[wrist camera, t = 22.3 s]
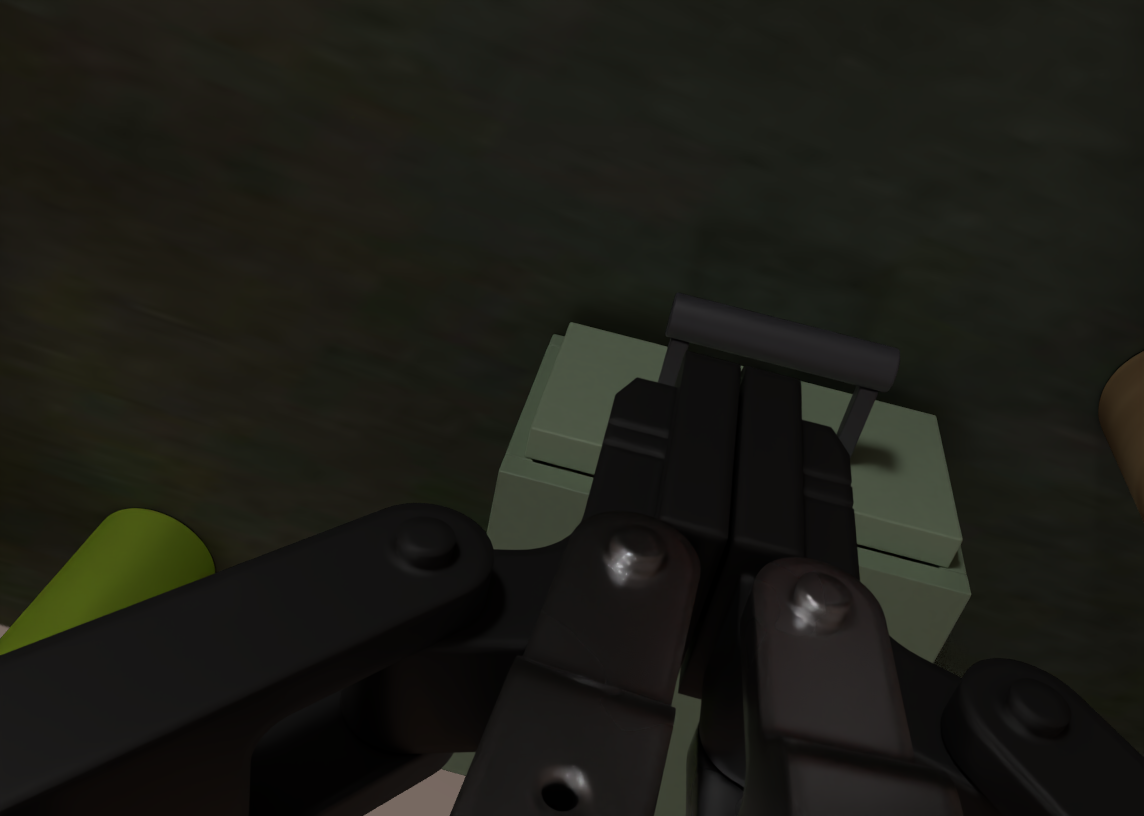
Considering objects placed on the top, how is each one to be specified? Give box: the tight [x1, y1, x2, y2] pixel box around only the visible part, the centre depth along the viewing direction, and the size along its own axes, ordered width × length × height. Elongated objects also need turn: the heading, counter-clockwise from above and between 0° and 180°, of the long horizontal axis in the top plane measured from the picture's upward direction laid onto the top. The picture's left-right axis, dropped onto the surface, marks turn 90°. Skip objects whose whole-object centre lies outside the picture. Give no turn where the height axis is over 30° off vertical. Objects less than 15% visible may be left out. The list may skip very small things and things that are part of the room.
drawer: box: [525, 293, 963, 568], centre depth 38 cm, size 18×14×7 cm
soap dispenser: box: [0, 508, 215, 655], centre depth 42 cm, size 6×7×20 cm
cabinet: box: [442, 334, 971, 816], centre depth 40 cm, size 15×15×9 cm
